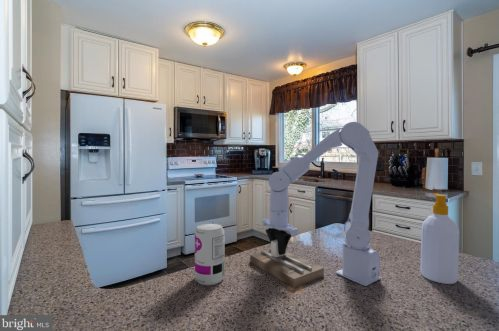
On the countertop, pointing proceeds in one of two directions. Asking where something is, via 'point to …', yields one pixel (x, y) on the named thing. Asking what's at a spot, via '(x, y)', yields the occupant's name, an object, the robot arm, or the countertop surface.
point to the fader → (276, 250)
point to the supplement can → (209, 253)
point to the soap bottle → (440, 245)
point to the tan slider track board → (287, 268)
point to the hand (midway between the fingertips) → (278, 252)
